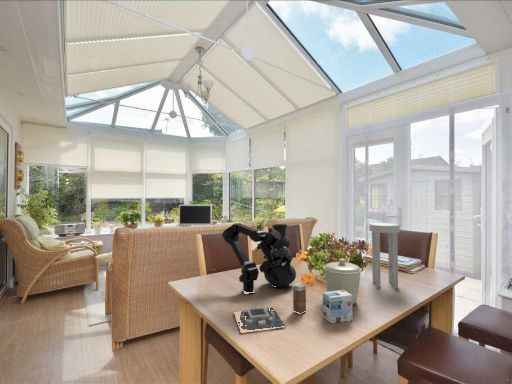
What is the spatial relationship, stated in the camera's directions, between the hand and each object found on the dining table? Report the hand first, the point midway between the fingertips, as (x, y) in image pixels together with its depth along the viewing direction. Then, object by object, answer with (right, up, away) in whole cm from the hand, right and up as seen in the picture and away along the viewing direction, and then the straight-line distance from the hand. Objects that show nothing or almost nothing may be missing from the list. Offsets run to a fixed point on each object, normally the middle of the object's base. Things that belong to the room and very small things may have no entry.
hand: (285, 278), depth 127 cm
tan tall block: (+6, -13, -6) cm, 15 cm away
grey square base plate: (-13, -13, -14) cm, 23 cm away
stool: (+61, -13, +30) cm, 69 cm away
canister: (+29, -13, +6) cm, 32 cm away
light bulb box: (+21, -13, -13) cm, 28 cm away
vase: (0, -14, +30) cm, 33 cm away
